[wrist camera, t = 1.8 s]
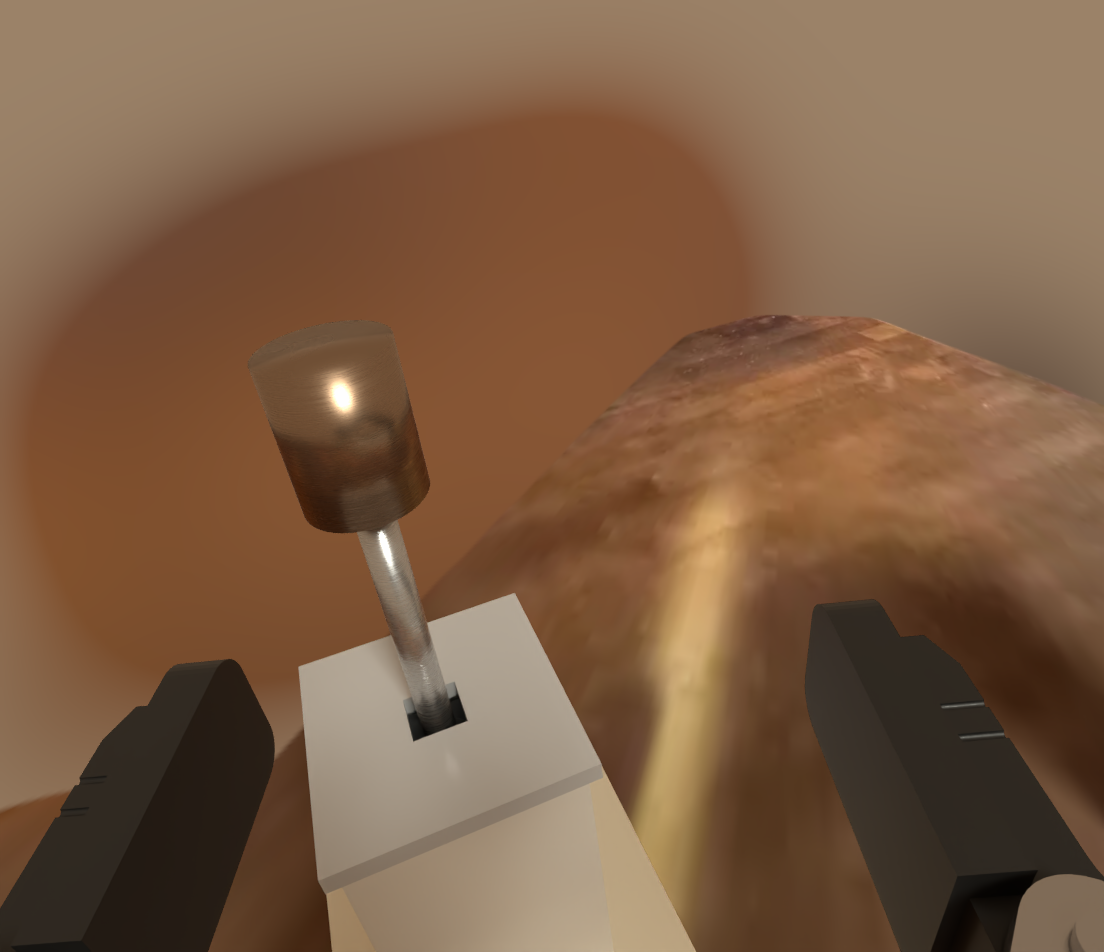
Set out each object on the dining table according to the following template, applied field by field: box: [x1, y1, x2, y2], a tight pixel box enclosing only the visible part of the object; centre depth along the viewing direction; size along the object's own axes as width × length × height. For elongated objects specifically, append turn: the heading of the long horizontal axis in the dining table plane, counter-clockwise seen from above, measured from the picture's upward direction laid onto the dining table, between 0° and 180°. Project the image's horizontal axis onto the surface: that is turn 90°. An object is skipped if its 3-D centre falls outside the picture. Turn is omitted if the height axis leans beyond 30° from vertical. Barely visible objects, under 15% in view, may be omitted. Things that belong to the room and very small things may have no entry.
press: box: [299, 593, 696, 952], centre depth 39 cm, size 20×20×20 cm
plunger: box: [248, 320, 467, 741], centre depth 30 cm, size 9×9×24 cm
